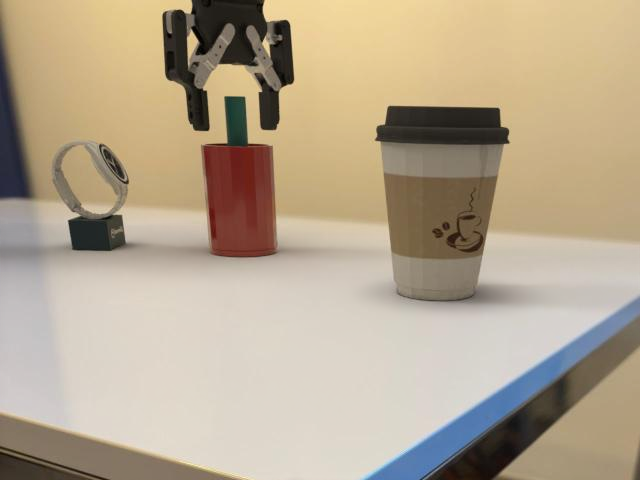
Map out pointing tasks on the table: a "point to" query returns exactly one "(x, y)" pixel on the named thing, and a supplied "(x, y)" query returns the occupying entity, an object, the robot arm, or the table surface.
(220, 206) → the can
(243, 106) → the straw
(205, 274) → the table surface
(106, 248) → the watch
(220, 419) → the table surface
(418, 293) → the coffee cup
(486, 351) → the table surface
